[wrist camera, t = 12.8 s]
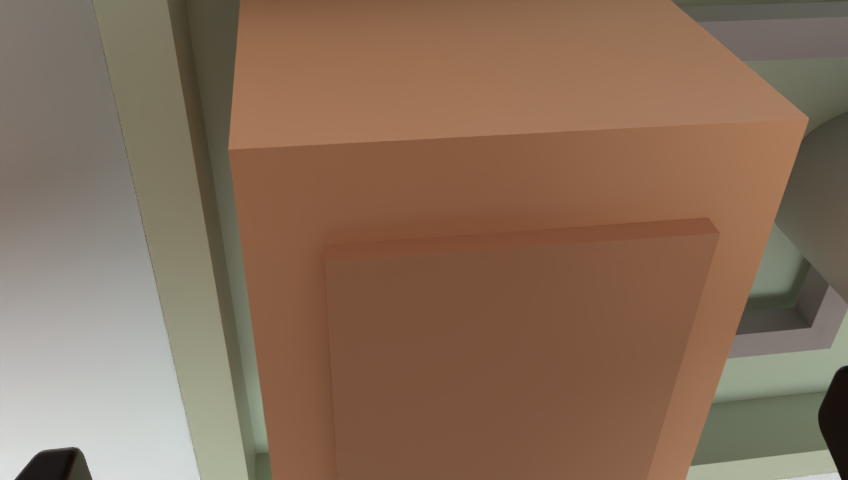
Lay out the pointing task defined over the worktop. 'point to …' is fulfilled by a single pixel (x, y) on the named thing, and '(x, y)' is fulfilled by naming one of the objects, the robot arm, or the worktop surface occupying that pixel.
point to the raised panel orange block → (522, 227)
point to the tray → (225, 277)
